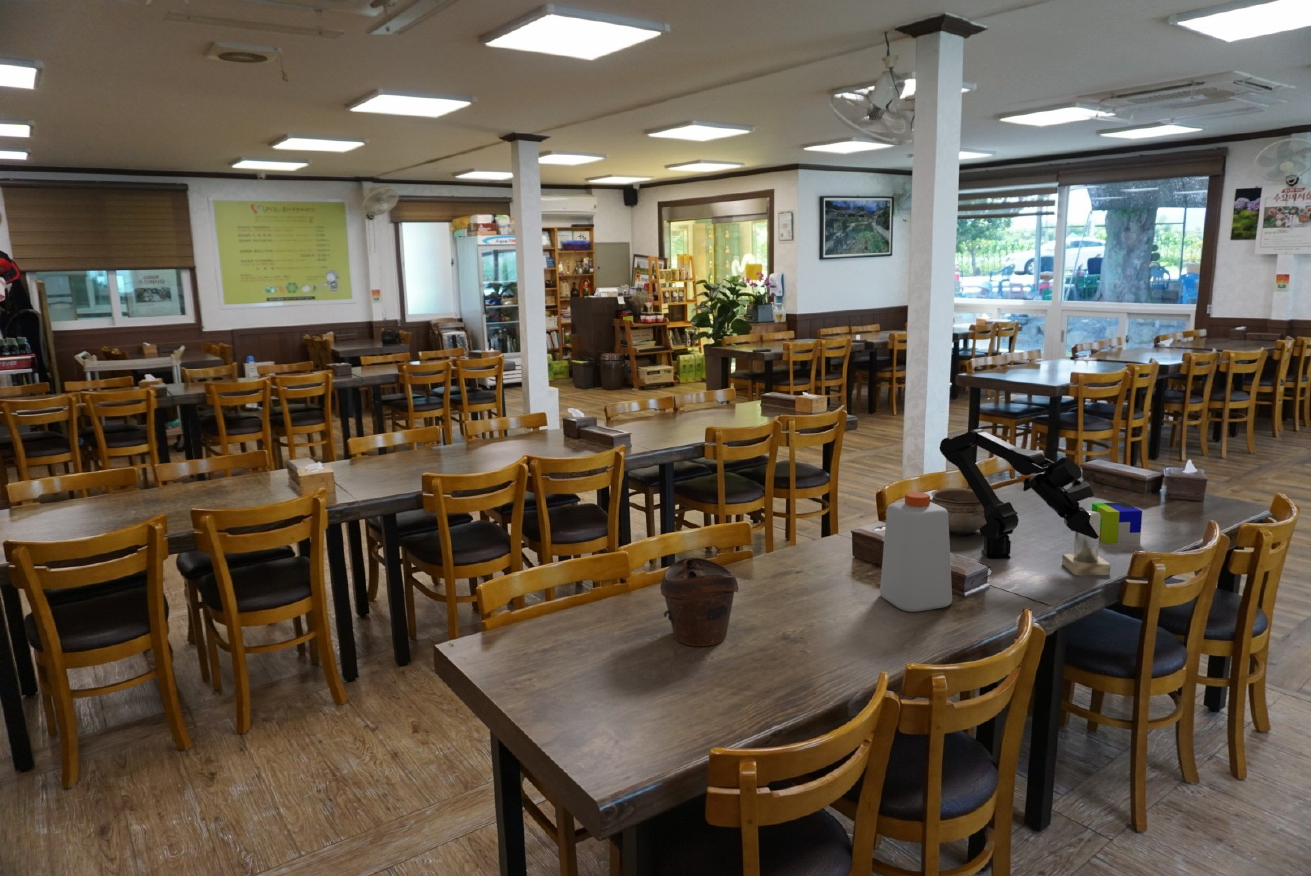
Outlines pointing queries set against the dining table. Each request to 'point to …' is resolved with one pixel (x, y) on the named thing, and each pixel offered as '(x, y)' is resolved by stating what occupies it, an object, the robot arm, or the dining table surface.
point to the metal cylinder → (1088, 542)
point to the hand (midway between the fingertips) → (1093, 532)
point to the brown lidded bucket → (698, 600)
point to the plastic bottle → (916, 555)
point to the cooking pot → (960, 509)
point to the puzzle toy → (1119, 522)
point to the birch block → (1085, 566)
